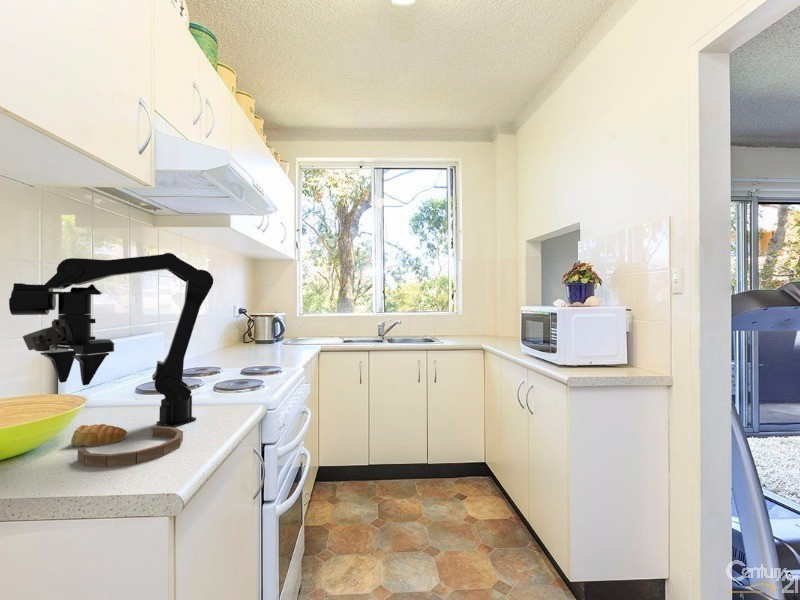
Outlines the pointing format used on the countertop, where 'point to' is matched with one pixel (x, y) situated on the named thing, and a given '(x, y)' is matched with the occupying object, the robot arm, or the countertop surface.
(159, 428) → the walnut open arc
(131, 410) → the countertop surface
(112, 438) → the pastry
